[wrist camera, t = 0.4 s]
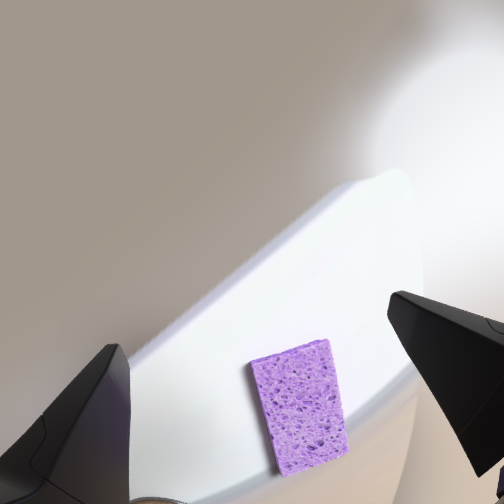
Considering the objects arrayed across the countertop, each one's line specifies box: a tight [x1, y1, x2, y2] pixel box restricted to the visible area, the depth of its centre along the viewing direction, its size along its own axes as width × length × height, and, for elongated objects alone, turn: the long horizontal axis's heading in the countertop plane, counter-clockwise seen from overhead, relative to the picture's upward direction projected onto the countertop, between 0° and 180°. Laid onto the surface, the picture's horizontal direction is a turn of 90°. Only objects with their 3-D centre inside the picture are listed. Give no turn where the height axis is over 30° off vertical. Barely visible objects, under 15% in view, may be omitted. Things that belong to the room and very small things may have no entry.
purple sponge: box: [250, 339, 349, 477], centre depth 22 cm, size 7×13×2 cm, turn 13°
